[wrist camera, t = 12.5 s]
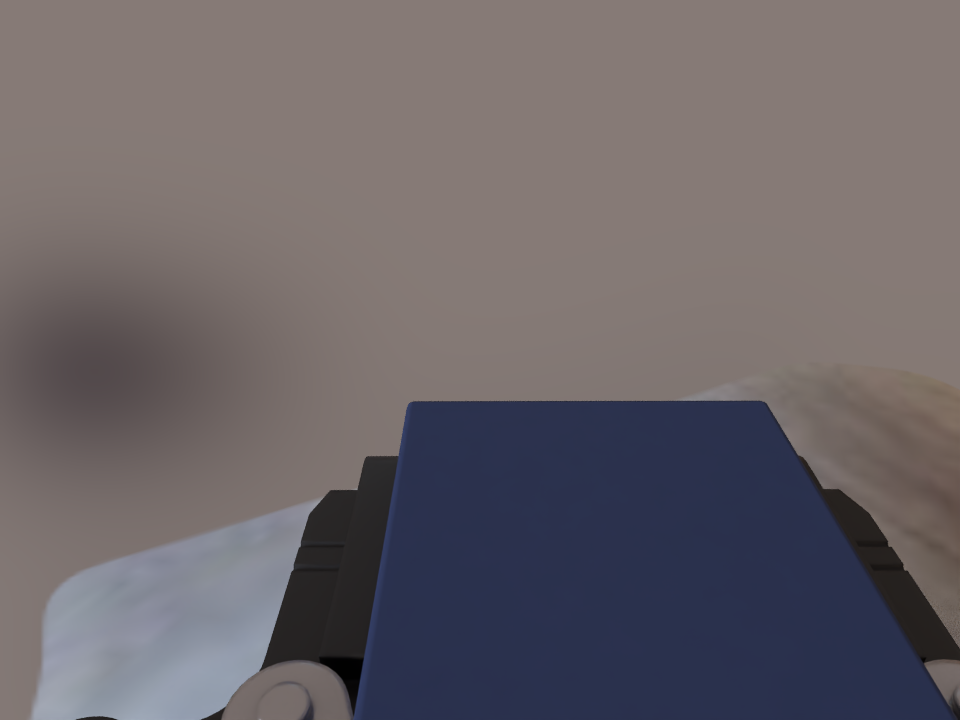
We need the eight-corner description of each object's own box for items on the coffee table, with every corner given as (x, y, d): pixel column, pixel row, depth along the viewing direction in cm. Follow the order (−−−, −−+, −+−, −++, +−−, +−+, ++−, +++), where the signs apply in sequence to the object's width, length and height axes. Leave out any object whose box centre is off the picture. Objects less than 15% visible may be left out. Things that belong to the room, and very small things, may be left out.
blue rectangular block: (739, 1167, 11) (978, 744, 6) (417, 1163, 11) (347, 743, 6) (623, 604, 21) (671, 241, 15) (449, 604, 21) (434, 243, 15)
